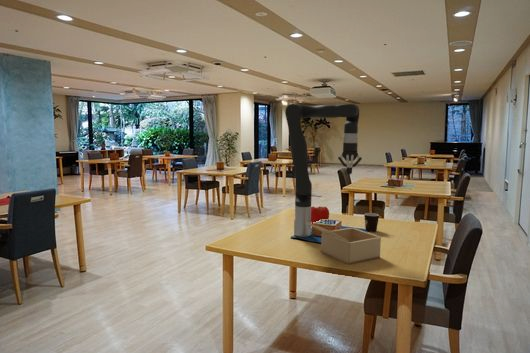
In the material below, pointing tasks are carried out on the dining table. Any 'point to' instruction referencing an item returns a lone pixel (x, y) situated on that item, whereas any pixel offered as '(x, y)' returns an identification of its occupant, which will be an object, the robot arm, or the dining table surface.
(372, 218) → the coffee mug
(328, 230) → the carton flap
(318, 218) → the tomato
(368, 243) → the carton
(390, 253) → the dining table surface
